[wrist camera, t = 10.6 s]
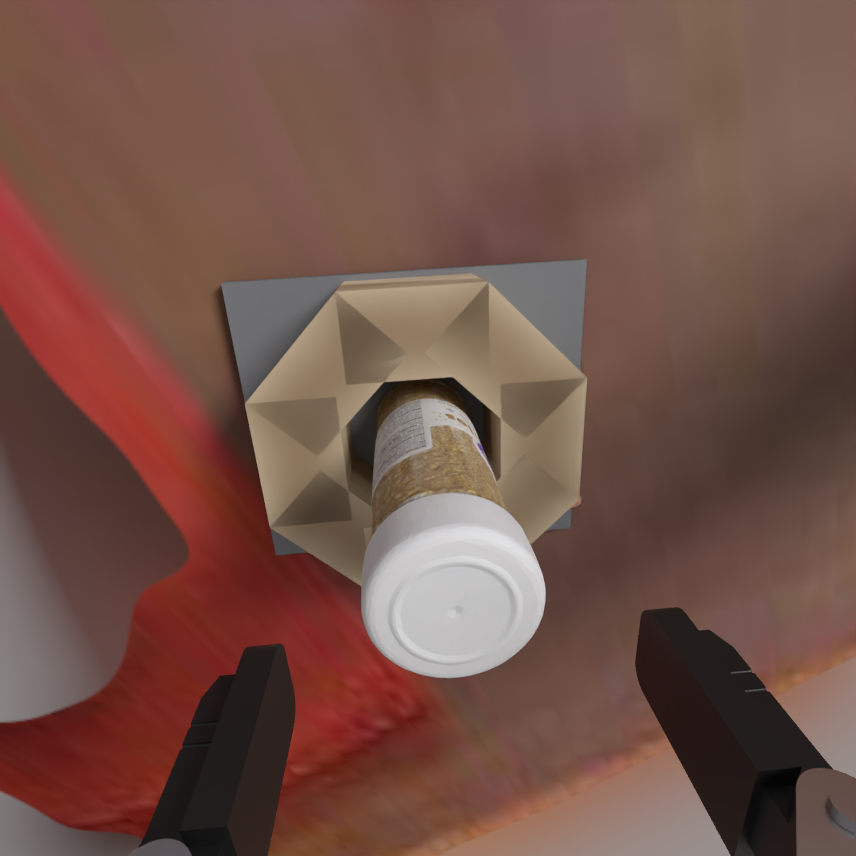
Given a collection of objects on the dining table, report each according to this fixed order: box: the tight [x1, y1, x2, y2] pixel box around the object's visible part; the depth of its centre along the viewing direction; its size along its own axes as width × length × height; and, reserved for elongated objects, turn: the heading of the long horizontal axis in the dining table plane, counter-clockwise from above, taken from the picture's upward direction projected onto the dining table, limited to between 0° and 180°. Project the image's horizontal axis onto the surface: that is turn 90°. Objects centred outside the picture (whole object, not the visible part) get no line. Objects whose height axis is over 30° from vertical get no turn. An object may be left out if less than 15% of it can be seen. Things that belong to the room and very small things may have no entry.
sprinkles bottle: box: [361, 378, 546, 678], centre depth 18 cm, size 5×5×13 cm
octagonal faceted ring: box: [245, 273, 587, 586], centre depth 22 cm, size 14×14×4 cm
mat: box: [221, 259, 587, 555], centre depth 25 cm, size 16×14×1 cm
